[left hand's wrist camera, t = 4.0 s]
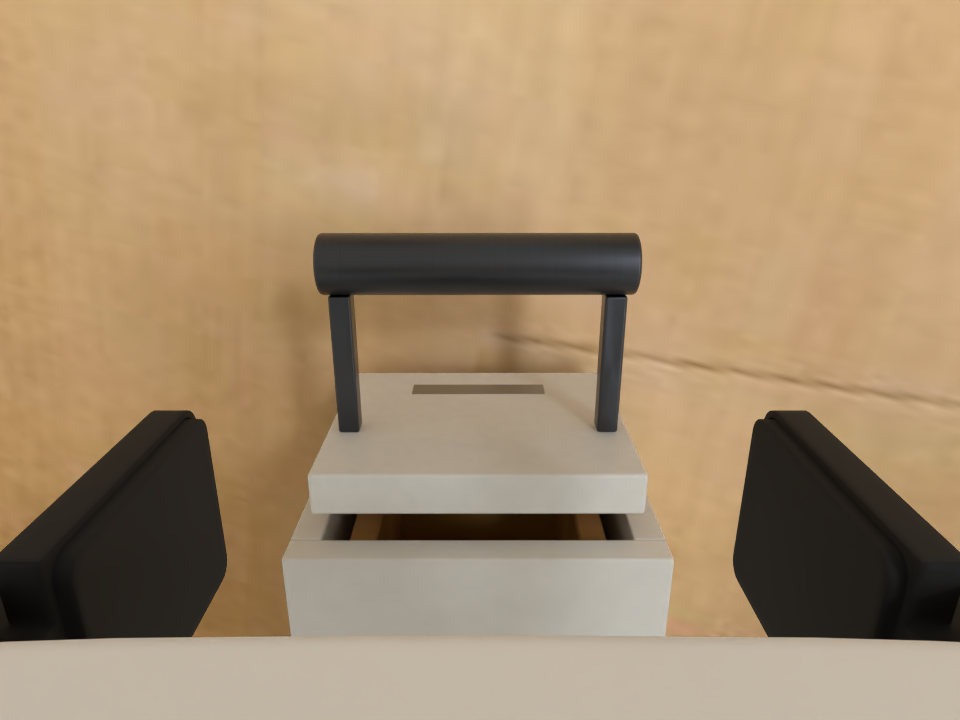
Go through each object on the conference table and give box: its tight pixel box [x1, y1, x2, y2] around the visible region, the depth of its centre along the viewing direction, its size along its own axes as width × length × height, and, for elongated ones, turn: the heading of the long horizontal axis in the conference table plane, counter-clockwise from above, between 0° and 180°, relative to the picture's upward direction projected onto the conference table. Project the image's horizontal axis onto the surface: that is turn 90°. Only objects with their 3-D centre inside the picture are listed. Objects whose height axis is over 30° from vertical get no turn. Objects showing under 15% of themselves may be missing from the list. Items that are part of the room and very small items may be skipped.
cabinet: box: [282, 495, 674, 636], centre depth 25 cm, size 18×10×9 cm, turn 0°
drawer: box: [307, 233, 648, 540], centre depth 23 cm, size 22×9×7 cm, turn 0°
